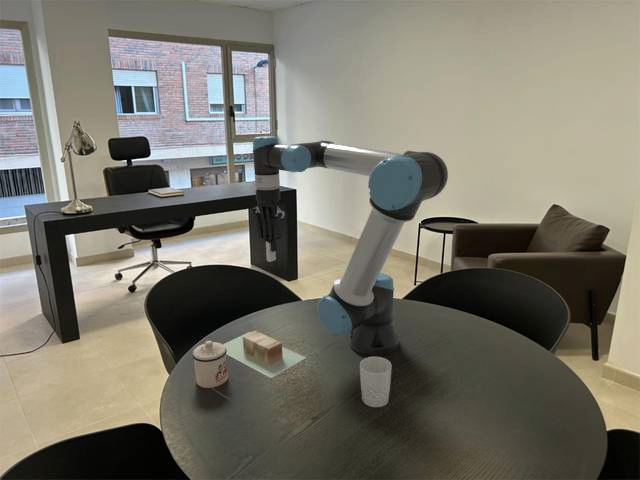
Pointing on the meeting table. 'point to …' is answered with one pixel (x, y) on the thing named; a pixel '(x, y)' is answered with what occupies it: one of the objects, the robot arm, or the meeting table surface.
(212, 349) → the teacup with lid
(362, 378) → the white cup
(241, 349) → the rubber mat
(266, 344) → the oak block
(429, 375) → the meeting table surface
